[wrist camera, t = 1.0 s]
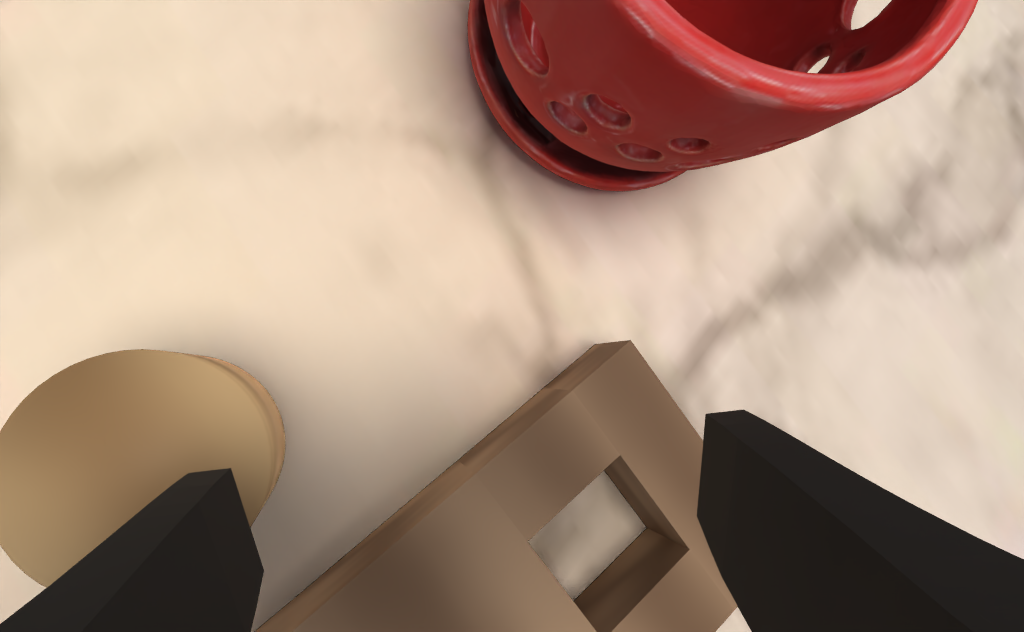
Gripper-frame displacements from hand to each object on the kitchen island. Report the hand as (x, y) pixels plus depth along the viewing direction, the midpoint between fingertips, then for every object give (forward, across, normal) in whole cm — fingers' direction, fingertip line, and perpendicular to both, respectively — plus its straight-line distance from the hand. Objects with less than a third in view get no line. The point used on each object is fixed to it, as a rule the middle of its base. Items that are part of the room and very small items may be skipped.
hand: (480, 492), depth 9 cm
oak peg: (+10, +9, +5) cm, 14 cm away
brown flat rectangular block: (+9, -1, +12) cm, 15 cm away
